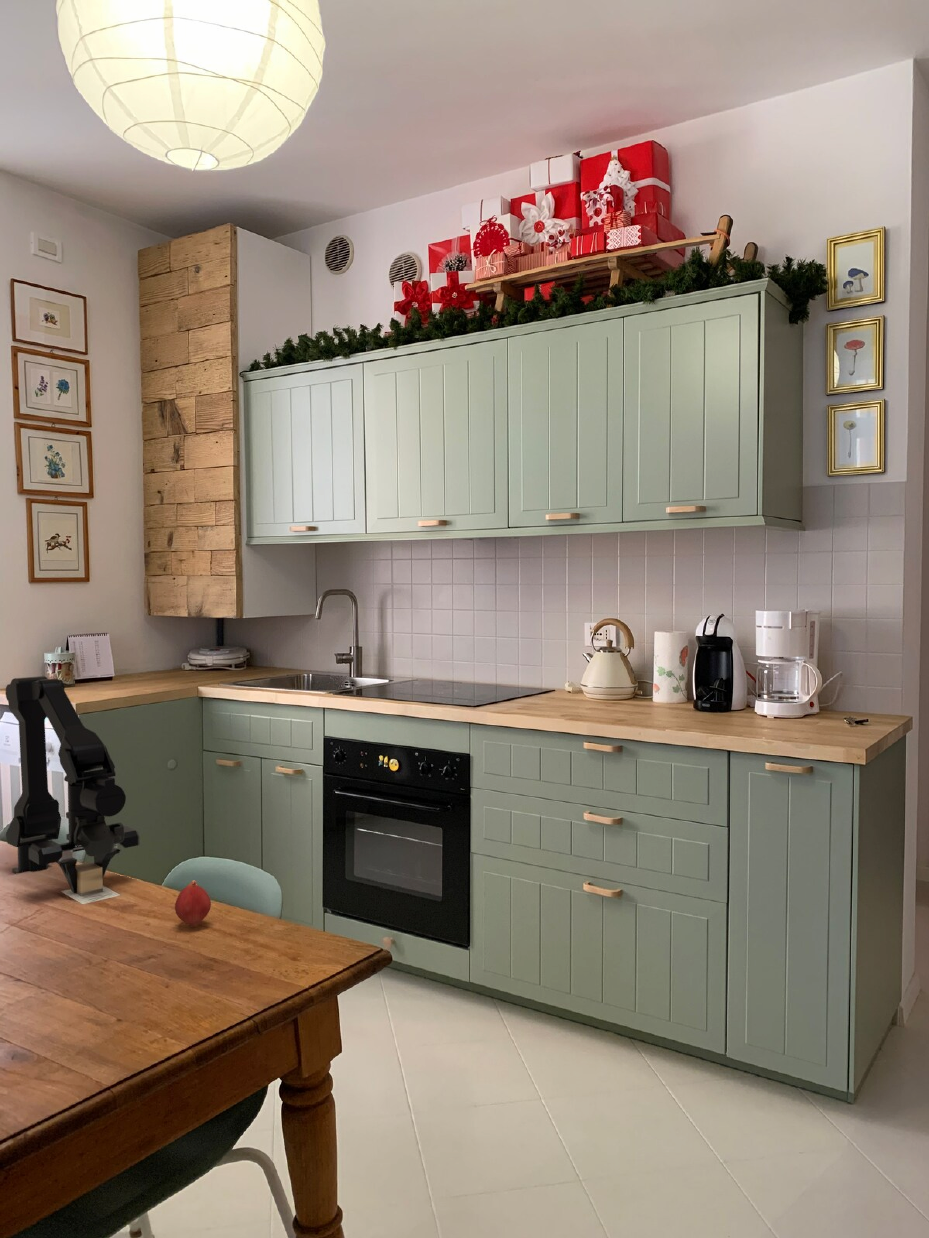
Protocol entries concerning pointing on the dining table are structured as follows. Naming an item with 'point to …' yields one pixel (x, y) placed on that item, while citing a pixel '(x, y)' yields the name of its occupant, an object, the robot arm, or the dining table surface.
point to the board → (91, 895)
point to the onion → (192, 904)
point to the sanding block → (89, 879)
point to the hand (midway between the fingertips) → (86, 889)
